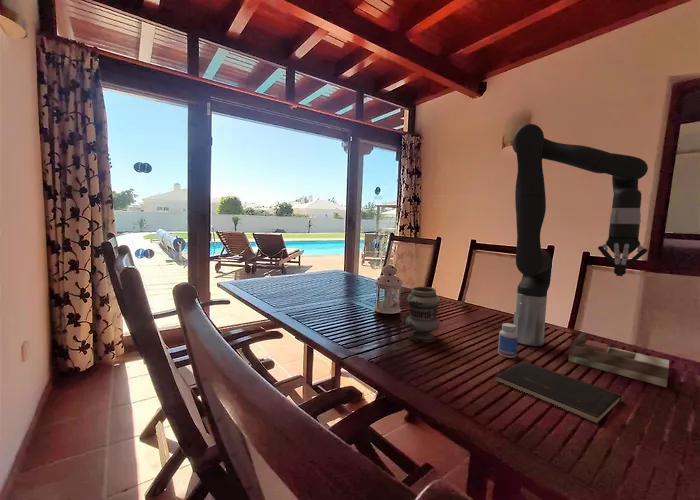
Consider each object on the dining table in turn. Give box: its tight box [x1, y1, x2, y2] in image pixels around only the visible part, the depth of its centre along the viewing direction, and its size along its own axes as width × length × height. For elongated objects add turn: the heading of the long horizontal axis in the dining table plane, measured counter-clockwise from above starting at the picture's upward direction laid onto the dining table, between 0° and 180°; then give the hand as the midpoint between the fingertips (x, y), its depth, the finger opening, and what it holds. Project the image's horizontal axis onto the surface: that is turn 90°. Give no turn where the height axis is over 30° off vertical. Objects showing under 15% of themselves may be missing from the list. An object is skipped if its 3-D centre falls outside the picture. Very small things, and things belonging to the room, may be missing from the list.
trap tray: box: [567, 331, 670, 388], centre depth 101 cm, size 22×18×5 cm
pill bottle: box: [497, 322, 519, 359], centre depth 106 cm, size 6×5×10 cm
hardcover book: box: [494, 360, 622, 424], centre depth 84 cm, size 16×23×2 cm
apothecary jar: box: [405, 286, 441, 343], centre depth 120 cm, size 12×12×18 cm
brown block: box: [584, 339, 609, 353], centre depth 101 cm, size 5×5×4 cm
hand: (619, 275), depth 108 cm, fingers closed
